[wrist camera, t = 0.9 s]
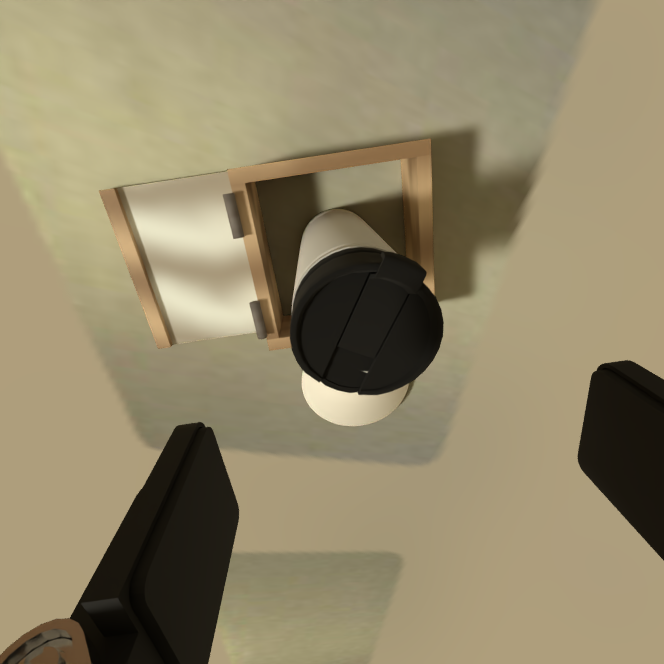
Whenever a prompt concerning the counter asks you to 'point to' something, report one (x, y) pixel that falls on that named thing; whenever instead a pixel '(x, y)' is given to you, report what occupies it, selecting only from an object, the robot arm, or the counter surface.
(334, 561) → the counter surface
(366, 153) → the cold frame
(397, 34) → the counter surface
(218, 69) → the counter surface
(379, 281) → the travel mug
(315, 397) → the saucer
